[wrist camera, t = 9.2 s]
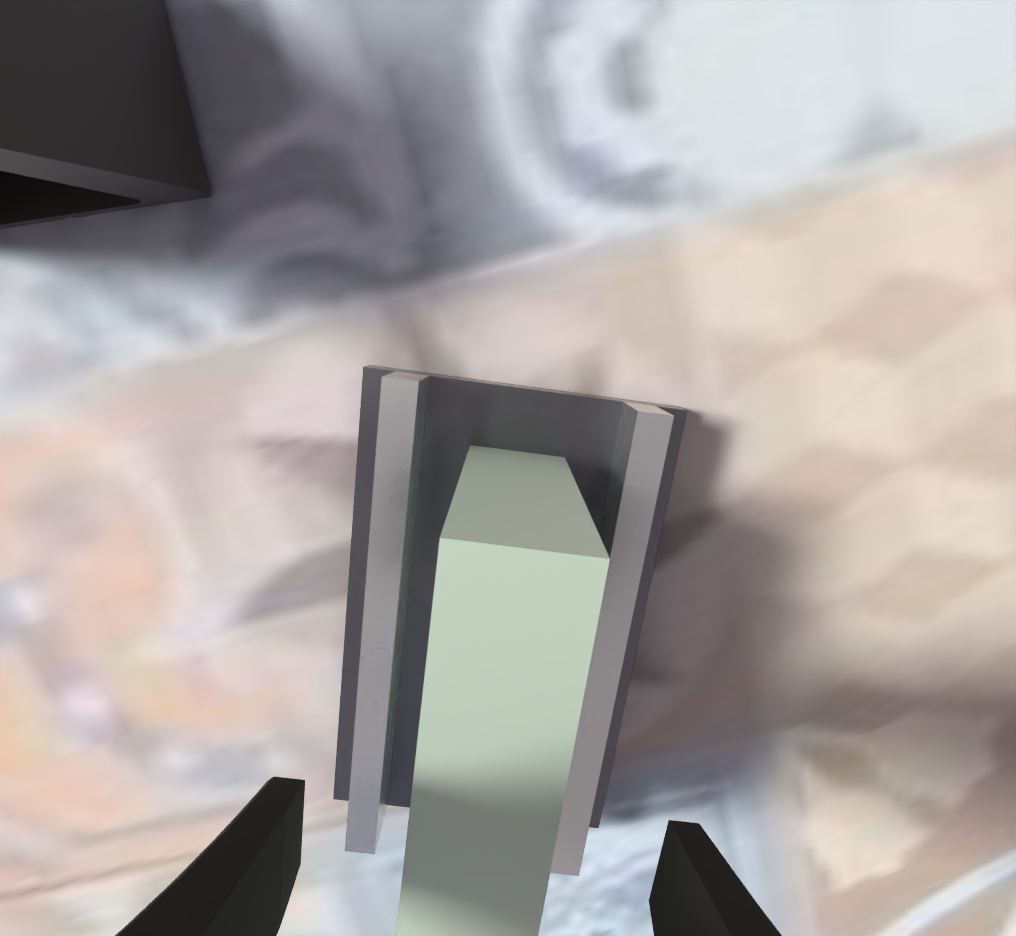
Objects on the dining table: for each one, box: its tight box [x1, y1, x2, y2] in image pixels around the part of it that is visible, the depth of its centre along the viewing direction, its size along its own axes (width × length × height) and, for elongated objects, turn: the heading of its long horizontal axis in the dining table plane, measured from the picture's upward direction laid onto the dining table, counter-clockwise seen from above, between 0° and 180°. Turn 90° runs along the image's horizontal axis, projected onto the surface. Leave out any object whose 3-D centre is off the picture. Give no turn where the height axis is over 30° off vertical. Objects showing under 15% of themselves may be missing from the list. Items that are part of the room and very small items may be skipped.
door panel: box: [396, 445, 610, 936], centre depth 15 cm, size 12×3×8 cm, turn 172°
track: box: [333, 365, 687, 876], centre depth 18 cm, size 10×16×3 cm, turn 172°
